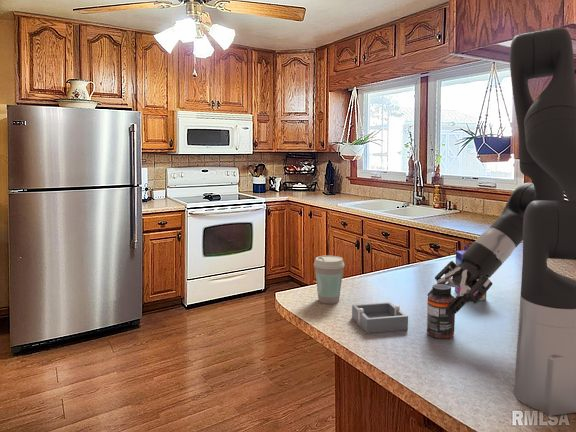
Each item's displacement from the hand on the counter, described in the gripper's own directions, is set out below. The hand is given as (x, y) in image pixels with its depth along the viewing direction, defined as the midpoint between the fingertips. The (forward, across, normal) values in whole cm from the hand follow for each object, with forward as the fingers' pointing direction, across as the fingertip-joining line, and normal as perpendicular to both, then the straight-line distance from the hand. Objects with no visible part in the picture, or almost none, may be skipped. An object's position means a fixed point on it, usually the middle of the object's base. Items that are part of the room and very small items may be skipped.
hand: (439, 304), depth 100 cm
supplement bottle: (+5, 0, +5) cm, 7 cm away
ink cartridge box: (-11, -24, +22) cm, 34 cm away
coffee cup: (+18, -28, -7) cm, 34 cm away
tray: (+12, -9, -3) cm, 16 cm away
